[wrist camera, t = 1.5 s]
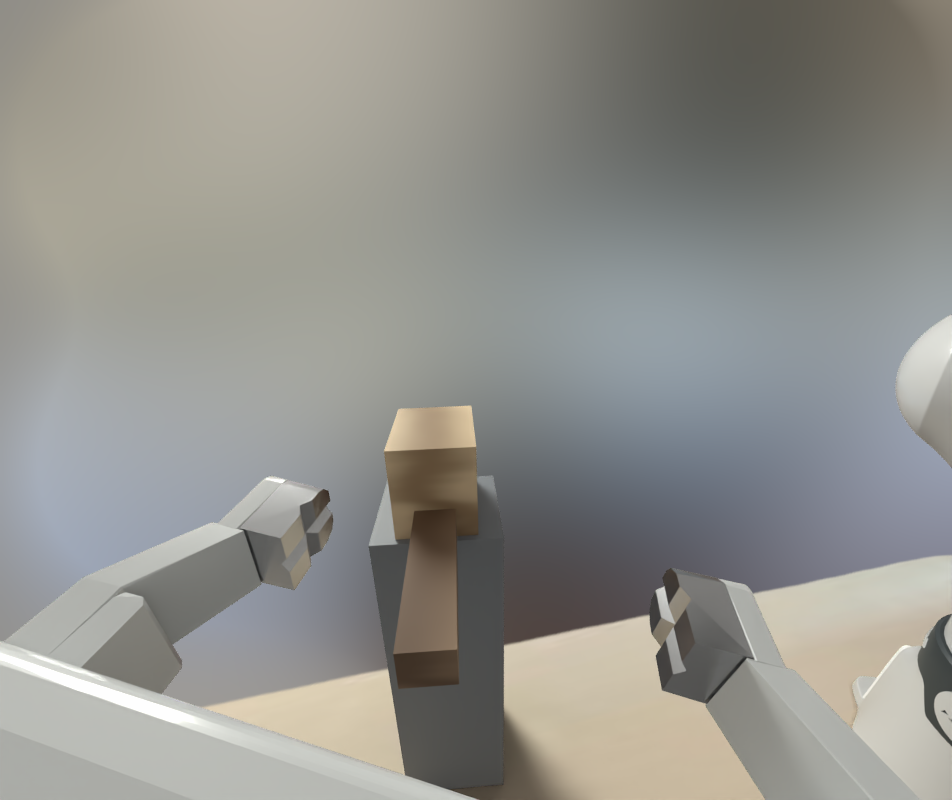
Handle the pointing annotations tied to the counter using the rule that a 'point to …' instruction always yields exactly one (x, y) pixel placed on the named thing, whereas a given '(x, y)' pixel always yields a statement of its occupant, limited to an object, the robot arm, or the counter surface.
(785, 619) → the counter surface
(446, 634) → the mallet
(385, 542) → the stand
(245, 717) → the counter surface
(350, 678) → the counter surface
